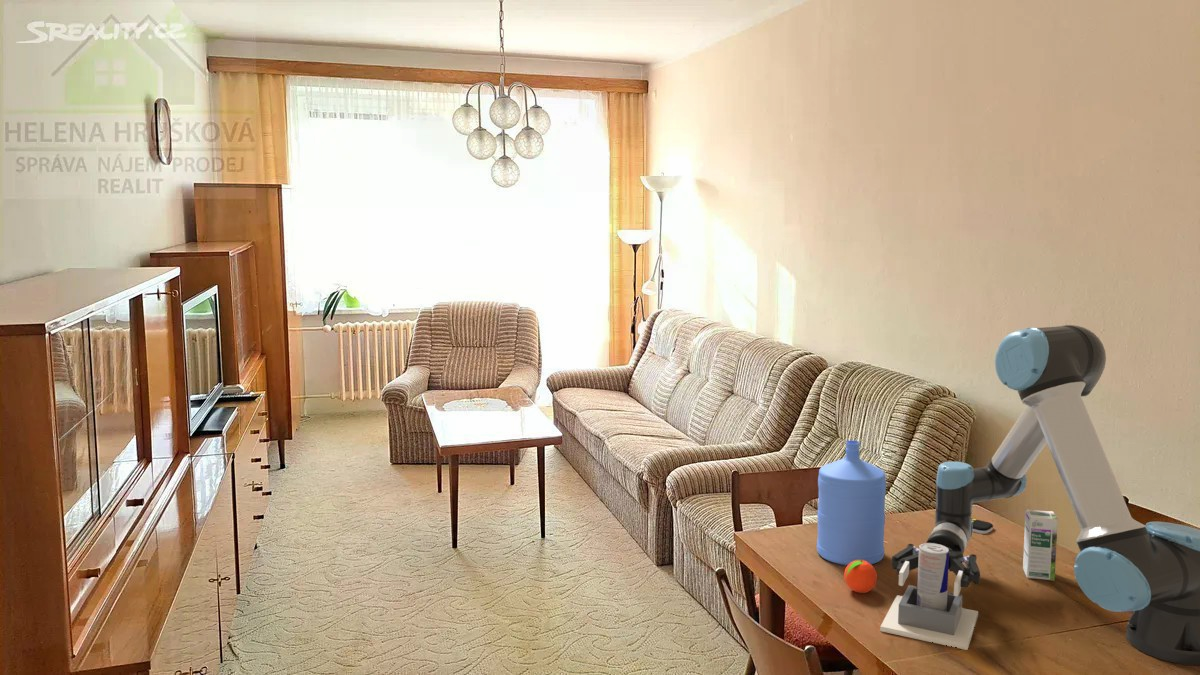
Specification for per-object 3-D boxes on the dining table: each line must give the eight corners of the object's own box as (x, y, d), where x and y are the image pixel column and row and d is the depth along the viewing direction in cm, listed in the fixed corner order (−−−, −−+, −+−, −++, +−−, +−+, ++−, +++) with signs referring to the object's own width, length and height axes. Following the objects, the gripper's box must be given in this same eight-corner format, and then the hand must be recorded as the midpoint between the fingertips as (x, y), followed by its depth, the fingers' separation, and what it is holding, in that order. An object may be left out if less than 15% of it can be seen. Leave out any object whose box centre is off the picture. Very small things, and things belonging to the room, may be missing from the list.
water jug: (874, 572, 198) (878, 454, 194) (807, 559, 206) (810, 445, 202) (890, 549, 211) (894, 438, 207) (827, 538, 219) (829, 431, 215)
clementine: (858, 602, 183) (859, 570, 182) (833, 590, 189) (834, 560, 188) (883, 593, 187) (884, 561, 186) (858, 582, 193) (859, 551, 192)
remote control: (985, 536, 220) (985, 528, 220) (936, 524, 229) (936, 517, 229) (994, 530, 224) (995, 522, 224) (946, 518, 233) (946, 511, 233)
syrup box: (1026, 578, 193) (1030, 516, 191) (1022, 568, 199) (1025, 508, 197) (1054, 581, 192) (1058, 518, 190) (1049, 571, 197) (1053, 510, 195)
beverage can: (948, 626, 169) (951, 553, 167) (918, 624, 171) (921, 551, 169) (943, 613, 175) (946, 543, 173) (914, 611, 176) (917, 541, 174)
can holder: (978, 615, 176) (979, 592, 175) (967, 650, 162) (968, 625, 161) (896, 599, 184) (897, 577, 183) (880, 631, 170) (881, 607, 169)
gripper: (1000, 572, 182) (989, 614, 163) (892, 553, 193) (869, 591, 174) (1002, 538, 181) (990, 576, 162) (893, 521, 192) (870, 555, 173)
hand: (928, 584), depth 168 cm, fingers open, 9 cm apart
